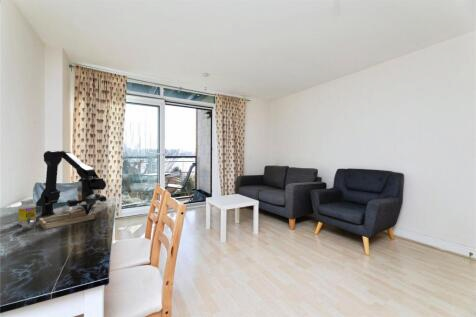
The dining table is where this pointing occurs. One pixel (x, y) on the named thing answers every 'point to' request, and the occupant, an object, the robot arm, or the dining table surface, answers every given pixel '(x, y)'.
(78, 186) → the reusable coffee cup
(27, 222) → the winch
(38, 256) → the dining table surface
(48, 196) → the robot arm
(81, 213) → the cardboard box
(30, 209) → the supplement bottle
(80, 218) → the bay
